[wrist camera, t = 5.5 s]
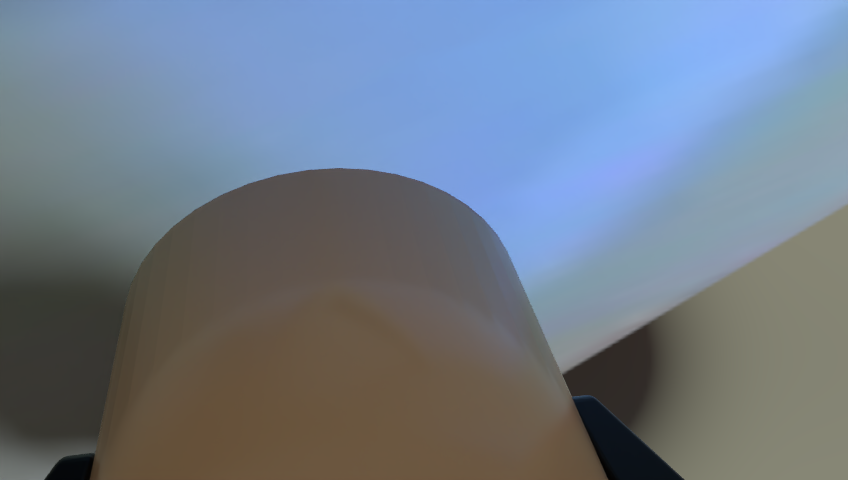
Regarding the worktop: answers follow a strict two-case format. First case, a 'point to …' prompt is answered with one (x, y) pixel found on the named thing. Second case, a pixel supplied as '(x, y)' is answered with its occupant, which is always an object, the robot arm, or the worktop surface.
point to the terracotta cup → (336, 345)
